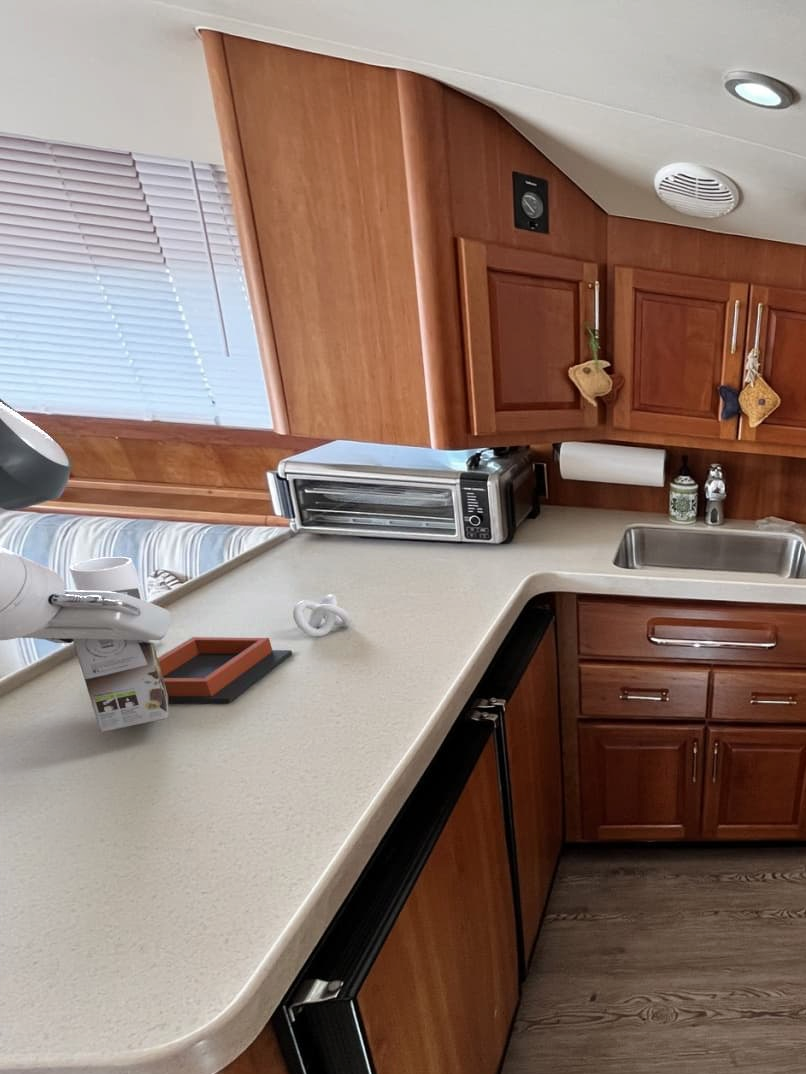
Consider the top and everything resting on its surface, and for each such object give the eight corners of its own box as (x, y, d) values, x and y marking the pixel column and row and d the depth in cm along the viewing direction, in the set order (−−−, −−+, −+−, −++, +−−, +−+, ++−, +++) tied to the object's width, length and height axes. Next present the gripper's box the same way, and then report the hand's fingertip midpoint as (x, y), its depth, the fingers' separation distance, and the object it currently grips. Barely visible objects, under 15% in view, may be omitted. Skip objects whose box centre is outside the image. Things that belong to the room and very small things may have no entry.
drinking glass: (120, 664, 98) (85, 574, 92) (92, 655, 100) (57, 566, 94) (172, 646, 104) (143, 561, 98) (145, 638, 106) (115, 553, 100)
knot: (364, 621, 118) (358, 592, 115) (338, 640, 110) (331, 610, 108) (321, 619, 117) (314, 590, 115) (292, 639, 110) (284, 608, 107)
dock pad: (102, 703, 89) (94, 683, 88) (183, 653, 103) (177, 635, 101) (230, 703, 91) (223, 683, 90) (292, 654, 105) (288, 636, 104)
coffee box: (170, 718, 83) (138, 599, 79) (99, 733, 79) (60, 609, 74) (170, 697, 89) (139, 586, 85) (103, 710, 85) (68, 594, 81)
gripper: (124, 573, 70) (212, 616, 83) (-98, 566, 67) (29, 612, 79) (102, 626, 68) (196, 663, 80) (-129, 622, 64) (7, 661, 77)
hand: (111, 638), depth 80 cm, fingers closed on coffee box, 8 cm apart
